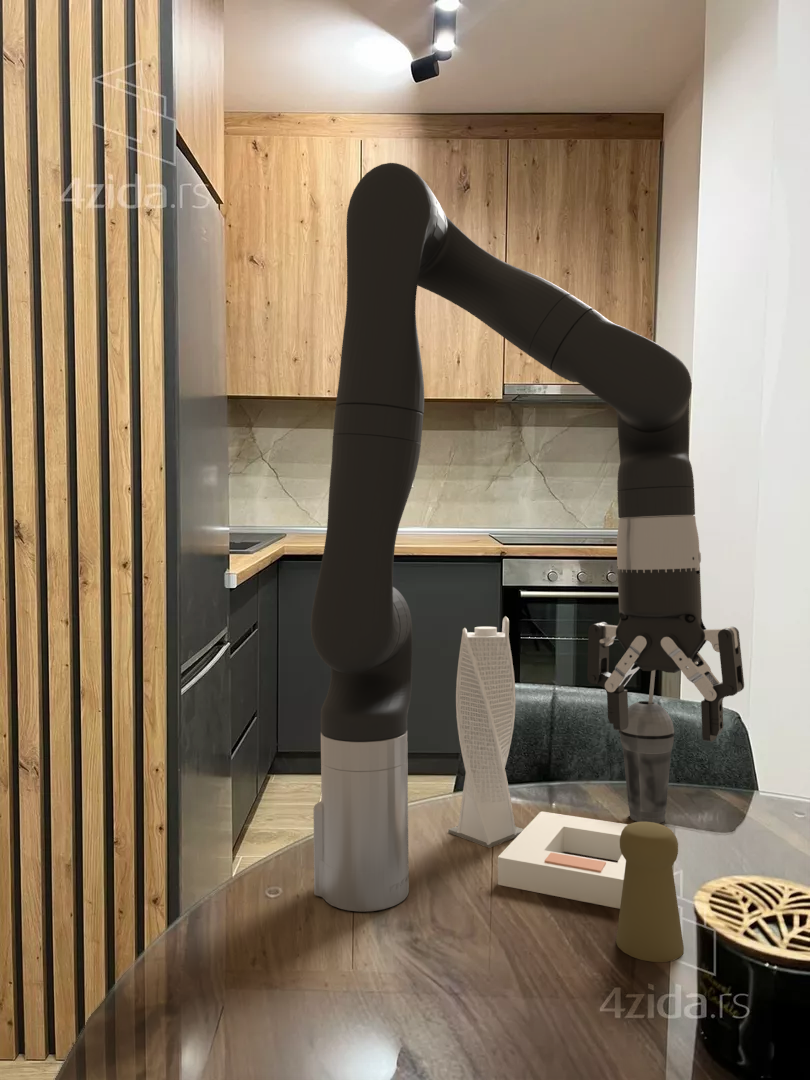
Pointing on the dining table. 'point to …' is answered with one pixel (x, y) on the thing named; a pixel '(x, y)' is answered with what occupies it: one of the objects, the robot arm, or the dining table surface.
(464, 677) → the skyscraper
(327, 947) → the dining table surface
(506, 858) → the hole board
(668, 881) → the cork
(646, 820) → the beverage cup
